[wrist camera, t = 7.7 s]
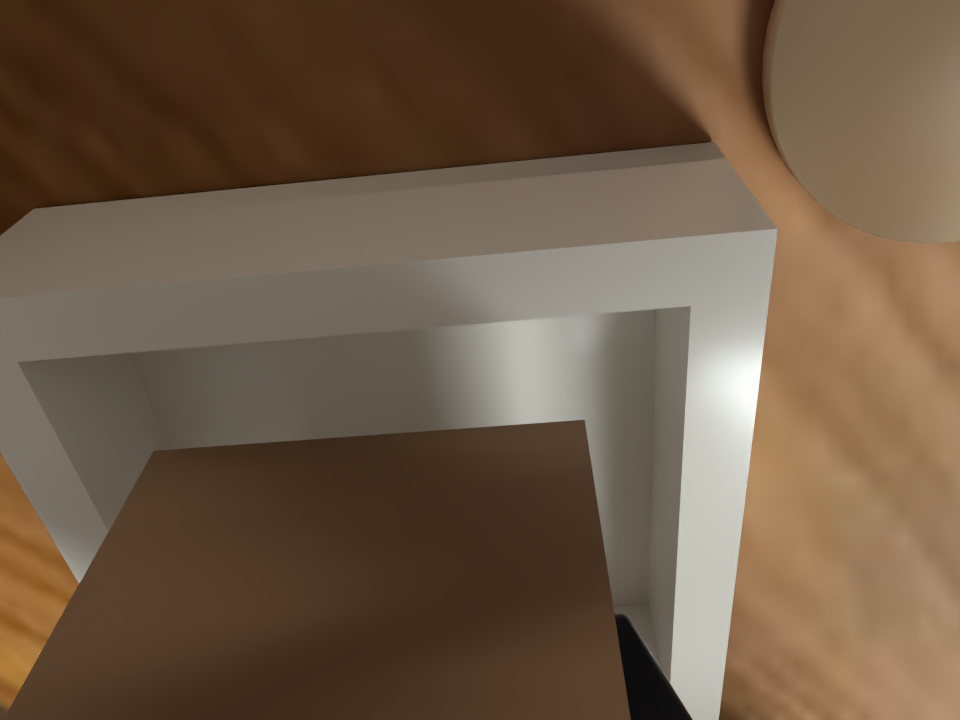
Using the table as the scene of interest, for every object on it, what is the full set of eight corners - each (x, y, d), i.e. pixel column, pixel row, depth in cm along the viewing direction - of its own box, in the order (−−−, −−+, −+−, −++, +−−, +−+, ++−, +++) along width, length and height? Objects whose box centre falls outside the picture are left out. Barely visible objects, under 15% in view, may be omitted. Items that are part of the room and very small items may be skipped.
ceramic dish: (714, 142, 10) (778, 228, 8) (684, 603, 15) (717, 735, 13) (34, 208, 10) (-89, 306, 8) (227, 629, 15) (183, 758, 13)
